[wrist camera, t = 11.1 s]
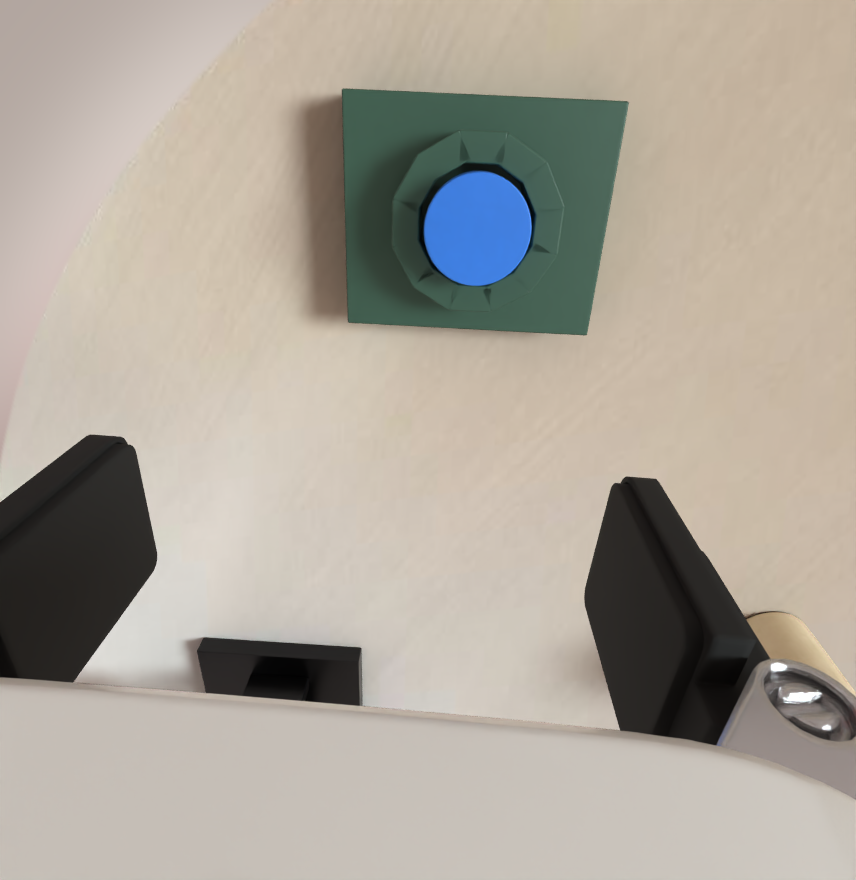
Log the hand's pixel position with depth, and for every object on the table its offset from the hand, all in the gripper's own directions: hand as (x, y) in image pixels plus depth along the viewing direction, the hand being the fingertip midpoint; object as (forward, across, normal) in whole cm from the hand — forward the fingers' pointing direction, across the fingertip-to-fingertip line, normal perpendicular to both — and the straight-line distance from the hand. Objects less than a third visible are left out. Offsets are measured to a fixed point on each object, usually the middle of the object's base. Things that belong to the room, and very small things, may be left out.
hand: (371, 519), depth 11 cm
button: (+17, -2, -4) cm, 17 cm away
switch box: (+20, -2, -4) cm, 21 cm away
